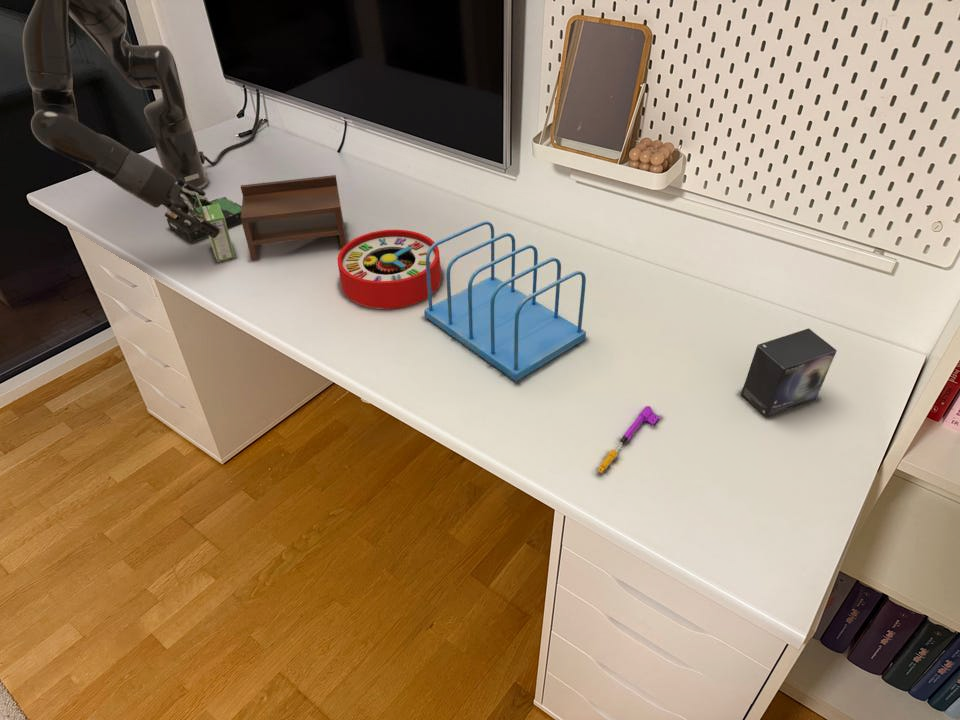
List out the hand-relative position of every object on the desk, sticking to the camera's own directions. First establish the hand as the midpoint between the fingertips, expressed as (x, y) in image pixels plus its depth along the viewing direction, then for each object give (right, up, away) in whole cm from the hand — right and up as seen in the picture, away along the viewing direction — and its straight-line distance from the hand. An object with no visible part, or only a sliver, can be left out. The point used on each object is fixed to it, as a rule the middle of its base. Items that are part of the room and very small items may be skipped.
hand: (219, 224), depth 144 cm
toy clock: (+37, -12, -5) cm, 39 cm away
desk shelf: (+15, -2, +8) cm, 17 cm away
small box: (+103, -35, -33) cm, 113 cm away
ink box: (-1, -5, +5) cm, 7 cm away
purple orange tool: (+77, -41, -40) cm, 96 cm away
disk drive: (-8, +3, +14) cm, 16 cm away
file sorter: (+59, -23, -18) cm, 65 cm away
